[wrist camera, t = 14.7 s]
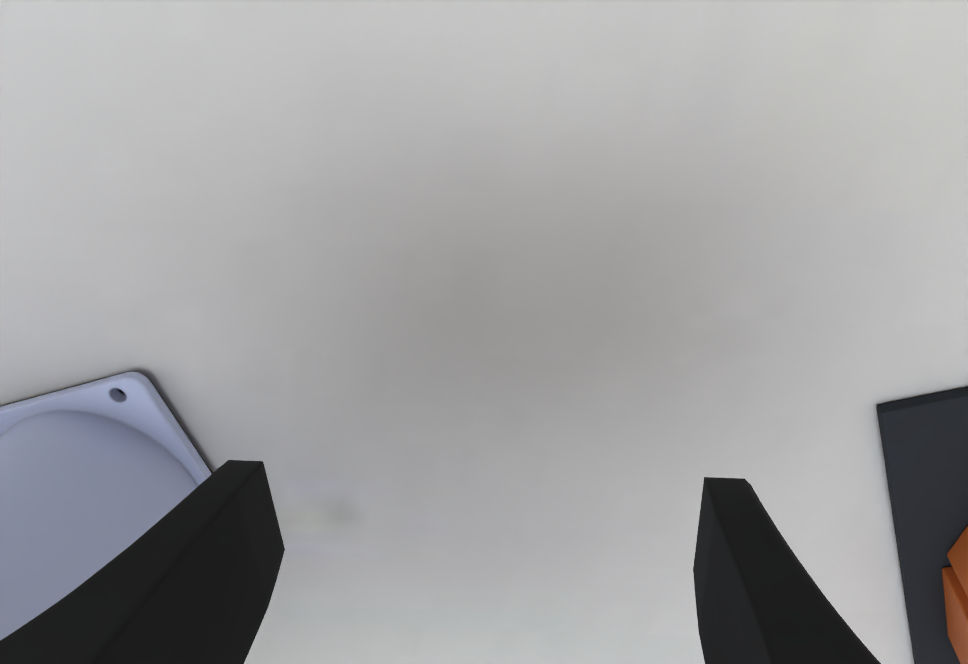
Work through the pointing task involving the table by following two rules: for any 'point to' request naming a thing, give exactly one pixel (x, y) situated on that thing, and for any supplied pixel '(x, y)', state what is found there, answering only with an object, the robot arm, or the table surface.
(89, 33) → the table surface
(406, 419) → the table surface
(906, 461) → the mat
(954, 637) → the ring
